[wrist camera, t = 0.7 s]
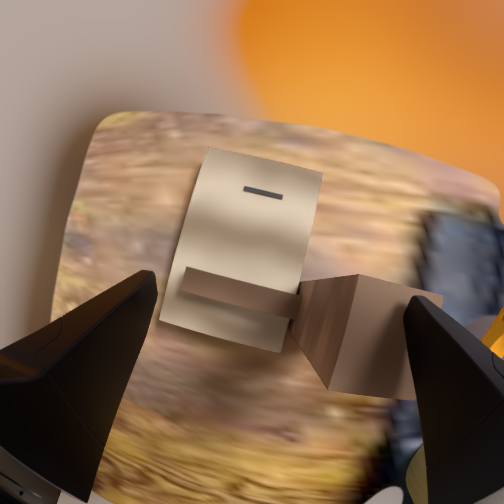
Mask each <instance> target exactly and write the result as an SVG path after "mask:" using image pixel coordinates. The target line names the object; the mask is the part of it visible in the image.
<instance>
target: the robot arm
mask: <svg viewBox="0 0 504 504" xmlns="http://www.w3.org/2000/svg"><path fill="white" fill-rule="evenodd" d="M157 296H158V291H157V284H156V277H155V273H154V272H153V271H148V270H141V271H139V272H137V273H135V274H134V275H132V276H130V277H128V278H127V279H125V280H123V281H121V282H120V283H118V284H116V285H114V286H113V287H111V288H109V289H107V290H106V291H104V292H102V293H100V294H99V295H97V296H95V297H94V298H92V299H90V300H88V301H87V302H85V303H83V304H82V305H80V306H78V307H77V308H75V309H73V310H71V311H70V312H68V313H66V314H65V315H63V316H62V317H60V318H58V319H56V320H55V321H53V322H51V323H50V324H48V325H46V326H45V327H43V328H41V329H39V330H38V331H36V332H34V333H32V334H30V335H28V336H26V337H24V338H22V339H20V340H18V341H16V342H14V343H12V344H10V345H9V346H7V347H5V348H3V349H1V350H0V504H57V501H58V498H59V496H60V493H61V492H63V493H65V494H67V495H69V496H71V497H74V498H76V499H78V500H80V501H82V502H85V503H87V502H88V500H89V496H90V493H91V490H92V486H93V483H94V480H95V476H96V473H97V470H98V467H99V463H100V460H101V457H102V454H103V451H104V447H105V445H106V442H107V439H108V436H109V433H110V430H111V427H112V424H113V421H114V419H115V416H116V413H117V410H118V407H119V405H120V402H121V399H122V397H123V394H124V391H125V389H126V386H127V383H128V381H129V378H130V376H131V373H132V370H133V368H134V365H135V363H136V360H137V358H138V355H139V353H140V350H141V348H142V346H143V343H144V340H145V338H146V335H147V332H148V328H149V325H150V321H151V318H152V314H153V311H154V307H155V304H156V301H157ZM403 323H404V330H405V337H406V344H407V352H408V359H409V364H410V368H411V373H412V378H413V383H414V388H415V393H416V399H417V404H418V410H419V416H420V423H421V430H422V437H423V445H424V454H425V463H426V467H427V468H426V477H427V492H428V504H504V361H503V360H502V359H501V358H500V357H499V356H497V355H496V354H495V353H494V352H493V351H492V352H491V350H490V349H489V348H488V347H487V346H486V345H485V344H483V343H482V342H481V341H480V340H479V339H477V338H476V337H475V336H474V335H473V334H471V333H470V332H469V331H468V330H466V329H465V328H464V327H463V326H462V325H460V324H459V323H458V322H457V321H455V320H454V319H453V318H452V317H450V316H449V315H448V314H447V313H445V312H444V311H443V310H442V309H440V308H439V307H438V306H436V305H435V304H434V303H433V302H431V301H430V300H429V299H427V298H426V297H425V296H423V295H413V296H412V297H411V299H410V301H409V303H408V305H407V308H406V310H405V312H404V315H403Z"/></svg>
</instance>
